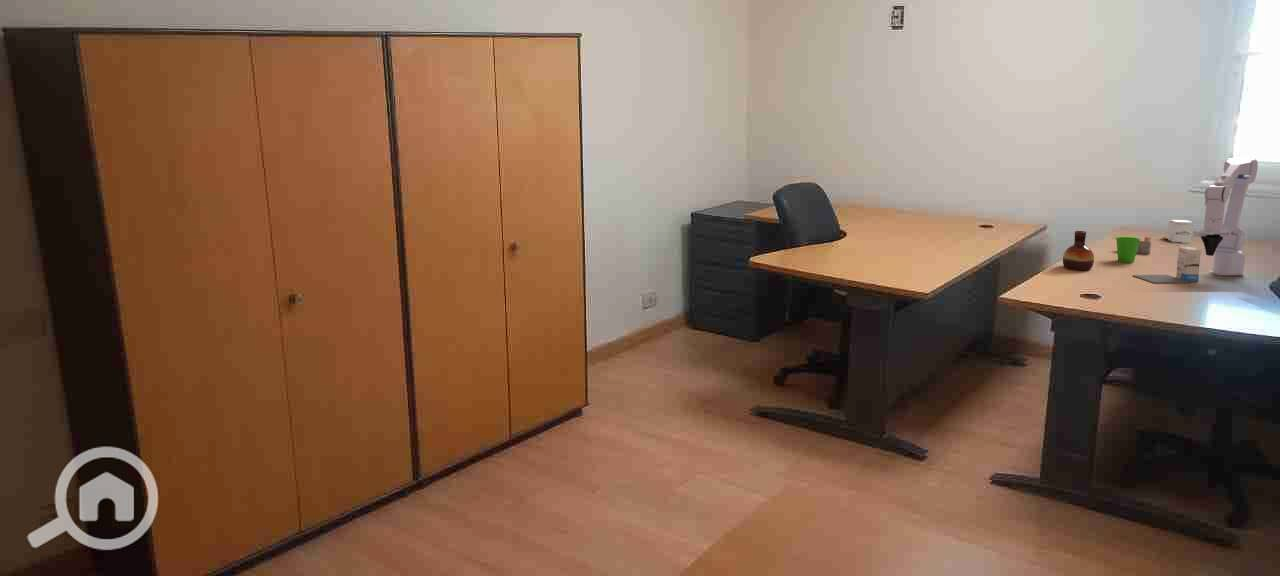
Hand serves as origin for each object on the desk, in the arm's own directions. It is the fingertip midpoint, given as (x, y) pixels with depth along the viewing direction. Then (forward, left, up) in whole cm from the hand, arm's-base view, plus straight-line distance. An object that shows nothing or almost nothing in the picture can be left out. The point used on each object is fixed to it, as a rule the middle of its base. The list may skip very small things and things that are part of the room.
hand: (1209, 255), depth 334 cm
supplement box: (-31, -74, -9) cm, 81 cm away
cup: (+13, -32, -9) cm, 36 cm away
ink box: (+7, 0, -9) cm, 12 cm away
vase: (+38, -20, -9) cm, 44 cm away
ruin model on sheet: (+1, -50, -10) cm, 51 cm away
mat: (+17, 0, -9) cm, 19 cm away
